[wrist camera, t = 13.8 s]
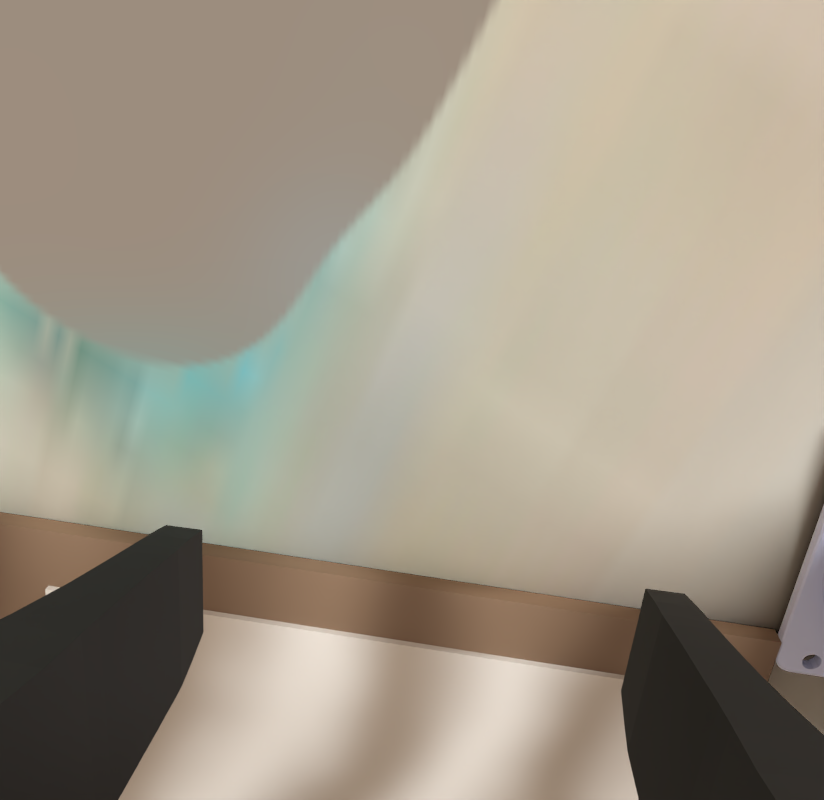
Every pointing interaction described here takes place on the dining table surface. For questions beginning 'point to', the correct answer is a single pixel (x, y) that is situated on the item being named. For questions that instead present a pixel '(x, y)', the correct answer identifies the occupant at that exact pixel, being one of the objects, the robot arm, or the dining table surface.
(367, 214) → the dining table surface
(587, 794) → the drawing pad
